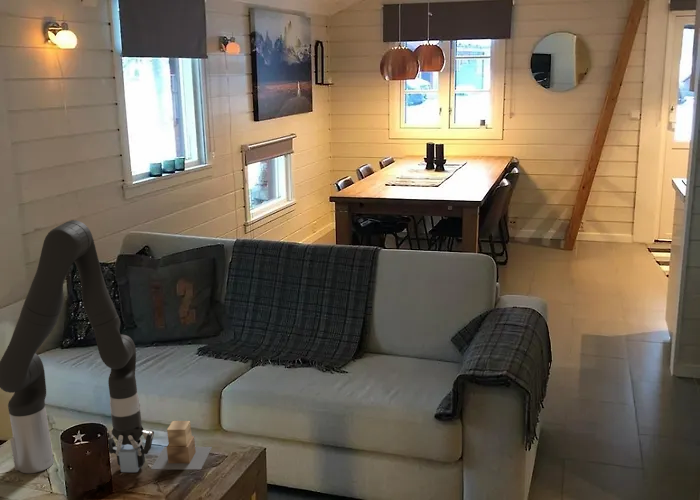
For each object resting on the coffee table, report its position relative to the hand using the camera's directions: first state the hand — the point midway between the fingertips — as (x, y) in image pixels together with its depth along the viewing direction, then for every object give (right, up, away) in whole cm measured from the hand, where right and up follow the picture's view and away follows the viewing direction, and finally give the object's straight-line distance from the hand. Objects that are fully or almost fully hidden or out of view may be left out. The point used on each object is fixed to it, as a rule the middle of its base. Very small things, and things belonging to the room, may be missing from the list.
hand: (131, 465), depth 203 cm
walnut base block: (+13, +1, +5) cm, 14 cm away
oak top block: (+12, +6, +4) cm, 14 cm away
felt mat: (+13, 0, +5) cm, 14 cm away
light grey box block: (0, -1, 0) cm, 1 cm away
